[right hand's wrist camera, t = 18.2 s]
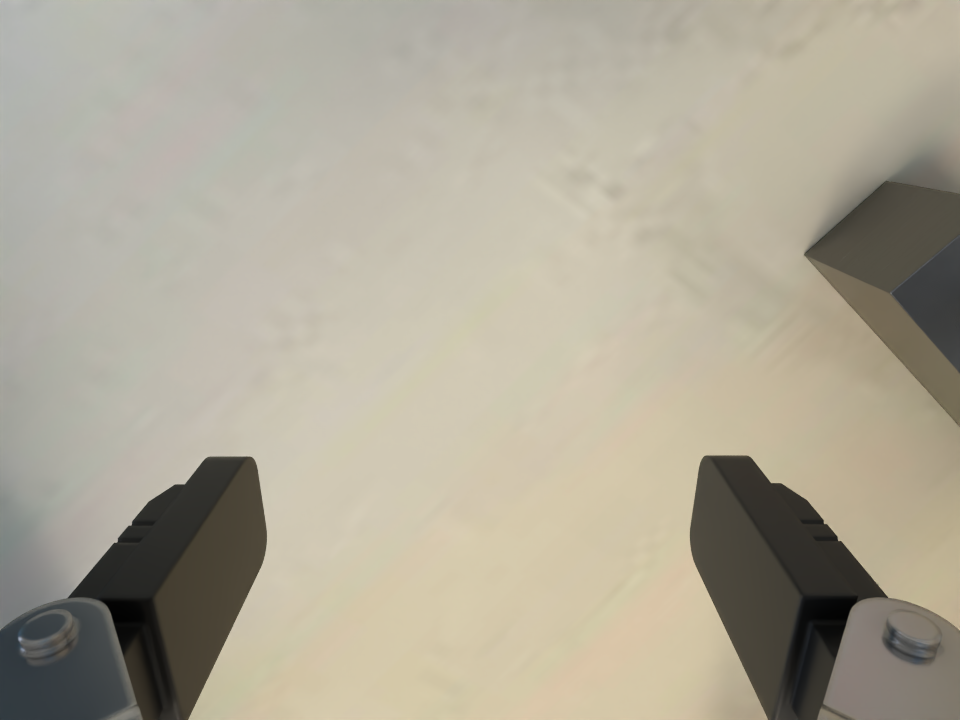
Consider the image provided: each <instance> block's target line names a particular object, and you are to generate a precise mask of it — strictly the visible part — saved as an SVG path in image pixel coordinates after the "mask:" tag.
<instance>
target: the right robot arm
mask: <svg viewBox="0 0 960 720" xmlns="http://www.w3.org/2000/svg"><path fill="white" fill-rule="evenodd" d="M266 543H267V530H266V523H265V516H264V509H263V503H262V496H261V489H260V482H259V476H258V469H257V465H256V462H255V460H254V459H253V458H252V457H207V458H206V459H205V460H204V461H203V462H202V463H201V465H200V466H199V467H198V468H197V470H196V471H195V472H194V474H193V475H192V476H191V477H190V479H189V480H188V481H187V482H186V484H185V485H174V486H172V487H171V488H169V489H168V490H166V491H165V492H163V493H161V494H160V495H158V496H157V497H155V498H154V499H152V500H151V501H149V502H148V503H147V505H146V506H145V507H144V508H143V509H142V510H141V512H140V513H139V514H138V515H137V516H136V518H135V519H134V520H133V521H132V526H128V527H127V528H126V529H125V531H124V532H123V533H122V534H121V535H120V537H119V538H118V542H117V543H114V544H113V545H112V546H111V547H110V548H109V550H108V551H107V552H106V553H105V554H104V556H103V557H102V558H101V559H100V560H99V562H98V563H97V564H96V565H95V566H94V567H93V569H92V570H91V571H90V572H89V573H88V575H87V576H86V577H85V578H84V579H83V581H82V582H81V583H80V584H79V585H78V586H77V588H76V589H75V590H74V591H73V592H72V594H71V595H70V596H69V597H68V598H67V599H62V600H58V601H54V602H51V603H48V604H45V605H42V606H40V607H37V608H35V609H32V610H31V611H29V612H27V613H25V614H23V615H21V616H19V617H18V618H16V619H15V620H13V621H12V622H10V623H9V624H8V625H6V626H5V627H4V628H3V629H1V630H0V720H188V719H189V716H190V714H191V712H192V710H193V708H194V706H195V704H196V702H197V700H198V698H199V696H200V693H201V691H202V689H203V687H204V685H205V683H206V681H207V679H208V677H209V675H210V673H211V670H212V668H213V666H214V664H215V662H216V660H217V658H218V656H219V654H220V652H221V650H222V647H223V645H224V643H225V641H226V639H227V637H228V635H229V633H230V631H231V629H232V627H233V624H234V622H235V620H236V618H237V616H238V614H239V612H240V610H241V608H242V606H243V604H244V601H245V599H246V597H247V595H248V593H249V591H250V589H251V587H252V585H253V583H254V580H255V578H256V576H257V574H258V572H259V570H260V568H261V566H262V563H263V560H264V556H265V551H266ZM690 544H691V551H692V556H693V560H694V563H695V565H696V567H697V569H698V571H699V574H700V576H701V578H702V580H703V582H704V584H705V586H706V588H707V591H708V593H709V595H710V597H711V599H712V601H713V603H714V605H715V607H716V610H717V612H718V614H719V616H720V618H721V620H722V622H723V624H724V627H725V629H726V631H727V633H728V635H729V637H730V639H731V641H732V643H733V646H734V648H735V650H736V652H737V654H738V656H739V658H740V660H741V663H742V665H743V667H744V669H745V671H746V673H747V675H748V677H749V679H750V682H751V684H752V686H753V688H754V690H755V692H756V694H757V696H758V699H759V701H760V703H761V705H762V707H763V709H764V711H765V713H766V715H767V718H768V720H960V630H959V629H957V628H956V627H955V626H954V625H952V624H951V623H950V622H948V621H947V620H945V619H944V618H942V617H941V616H939V615H937V614H935V613H933V612H931V611H929V610H928V609H925V608H923V607H920V606H918V605H915V604H912V603H909V602H906V601H902V600H898V599H892V598H888V597H887V596H886V594H885V593H884V592H883V591H882V590H881V588H880V587H879V586H878V585H877V584H876V582H875V581H874V580H873V579H872V578H871V576H870V575H869V574H868V573H867V572H866V570H865V569H864V568H863V567H862V566H861V564H860V563H859V562H858V561H857V560H856V558H855V557H854V556H853V555H852V554H851V552H850V551H849V550H848V549H847V548H846V546H845V545H844V544H843V543H842V542H841V541H838V539H837V536H836V535H835V533H834V532H833V531H832V530H831V529H830V527H829V526H828V525H827V524H824V520H823V519H822V518H821V517H820V515H819V514H818V513H817V512H816V511H815V509H814V508H813V507H812V506H811V505H810V503H809V502H808V501H807V500H806V499H804V498H803V497H801V496H800V495H798V494H796V493H795V492H793V491H792V490H790V489H789V488H787V487H786V486H784V485H783V484H781V483H770V481H769V480H768V479H767V477H766V476H765V475H764V474H763V472H762V471H761V470H760V468H759V467H758V466H757V465H756V463H755V462H754V461H753V459H752V458H751V457H749V456H704V457H703V459H702V460H701V463H700V467H699V472H698V479H697V486H696V493H695V500H694V506H693V513H692V520H691V527H690Z"/></svg>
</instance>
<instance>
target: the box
mask: <svg viewBox="0 0 960 720" xmlns="http://www.w3.org/2000/svg"><path fill="white" fill-rule="evenodd" d="M804 255H805V256H806V257H807V258H808V260H809V261H810V262H811V263H812V264H813V265H814V266H815V267H816V268H817V270H818V271H819V272H820V273H821V274H822V275H823V276H824V277H825V278H826V279H827V281H828V282H829V283H830V284H831V285H832V286H833V287H834V288H835V289H836V290H837V292H838V293H839V294H840V295H841V296H842V297H843V298H844V299H845V300H846V302H847V303H848V304H849V305H850V306H851V307H852V308H853V309H854V310H855V311H856V313H857V314H858V315H859V316H860V317H861V318H862V319H863V320H864V321H865V322H866V324H867V325H868V326H869V327H870V328H871V329H872V330H873V331H874V332H875V334H876V335H877V336H878V337H879V338H880V339H881V340H882V341H883V342H884V343H885V345H886V346H887V347H888V348H889V349H890V350H891V351H892V352H893V353H894V354H895V356H896V357H897V358H898V359H899V360H900V361H901V362H902V363H903V364H904V365H905V367H906V368H907V369H908V370H909V371H910V372H911V373H912V374H913V375H914V377H915V378H916V379H917V380H918V381H919V382H920V383H921V384H922V385H923V386H924V388H925V389H926V390H927V391H928V392H929V393H930V394H931V395H932V396H933V397H934V399H935V400H936V401H937V402H938V403H939V404H940V405H941V406H942V407H943V409H944V410H945V411H946V412H947V413H948V414H949V415H950V416H951V417H952V418H953V420H954V421H955V422H956V423H957V424H958V425H959V426H960V194H957V193H952V192H946V191H940V190H935V189H929V188H924V187H918V186H912V185H907V184H901V183H895V182H890V181H886V182H885V183H884V184H882V185H881V186H880V187H879V188H878V189H877V190H876V191H875V192H874V193H872V194H871V195H870V196H869V197H868V198H867V199H866V200H865V201H863V202H862V203H861V204H860V205H859V206H858V207H857V208H856V209H855V210H853V211H852V212H851V213H850V214H849V215H848V216H847V217H846V218H844V219H843V220H842V221H841V222H840V223H839V224H838V225H837V226H836V227H834V228H833V229H832V230H831V231H830V232H829V233H828V234H827V235H825V236H824V237H823V238H822V239H821V240H820V241H819V242H818V243H817V244H815V245H814V246H813V247H812V248H811V249H810V250H809V251H808V252H806V253H805V254H804Z"/></svg>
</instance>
